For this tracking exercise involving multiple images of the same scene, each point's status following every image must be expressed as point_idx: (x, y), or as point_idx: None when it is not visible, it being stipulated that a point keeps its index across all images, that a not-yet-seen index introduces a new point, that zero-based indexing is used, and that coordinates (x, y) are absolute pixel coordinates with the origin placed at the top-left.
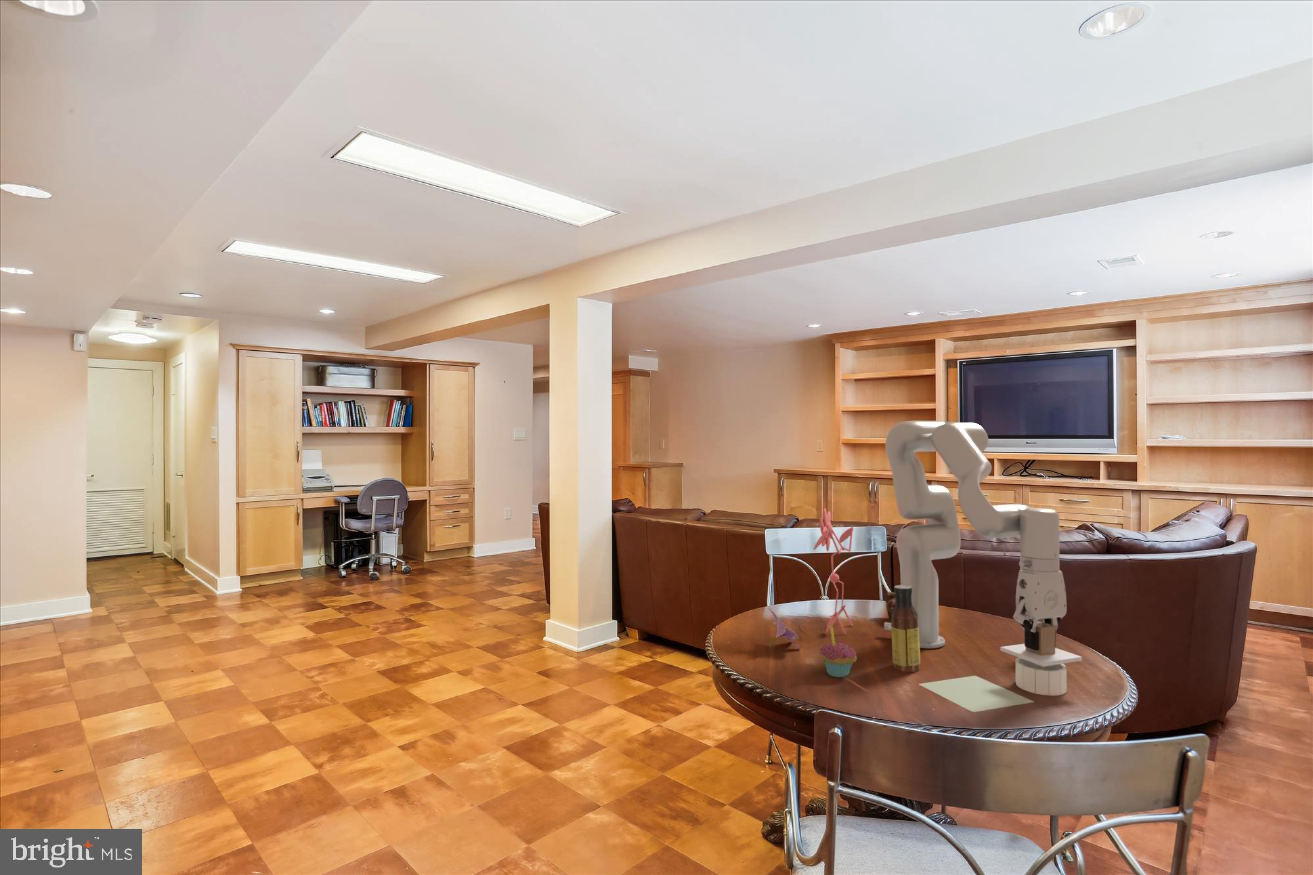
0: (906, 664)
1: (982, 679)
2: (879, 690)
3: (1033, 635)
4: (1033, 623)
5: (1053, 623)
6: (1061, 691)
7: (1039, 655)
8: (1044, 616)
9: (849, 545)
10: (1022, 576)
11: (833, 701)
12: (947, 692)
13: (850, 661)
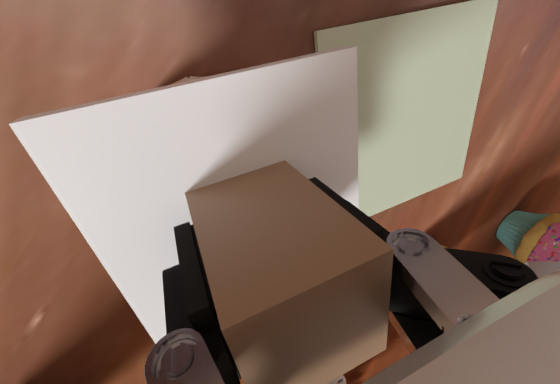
0: (446, 247)
1: None
2: (518, 154)
3: None
4: (468, 273)
5: (216, 379)
6: (183, 79)
7: (292, 161)
8: (533, 331)
9: None
10: None
11: None
12: (452, 129)
13: (548, 218)
